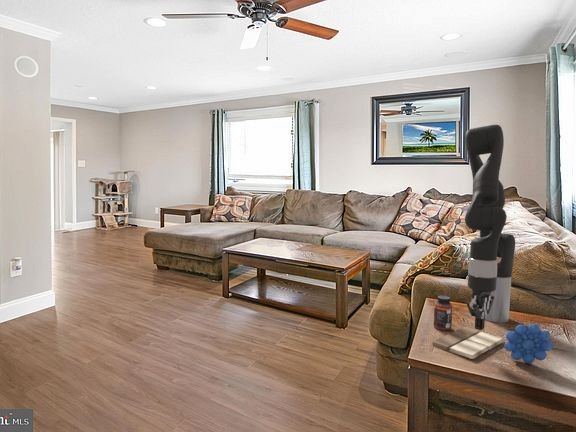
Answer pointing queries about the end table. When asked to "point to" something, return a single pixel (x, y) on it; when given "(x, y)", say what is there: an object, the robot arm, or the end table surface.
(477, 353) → the plank
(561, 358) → the end table surface
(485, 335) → the plank
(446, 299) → the supplement bottle
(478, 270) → the robot arm
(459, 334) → the laid plank
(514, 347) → the grapes
